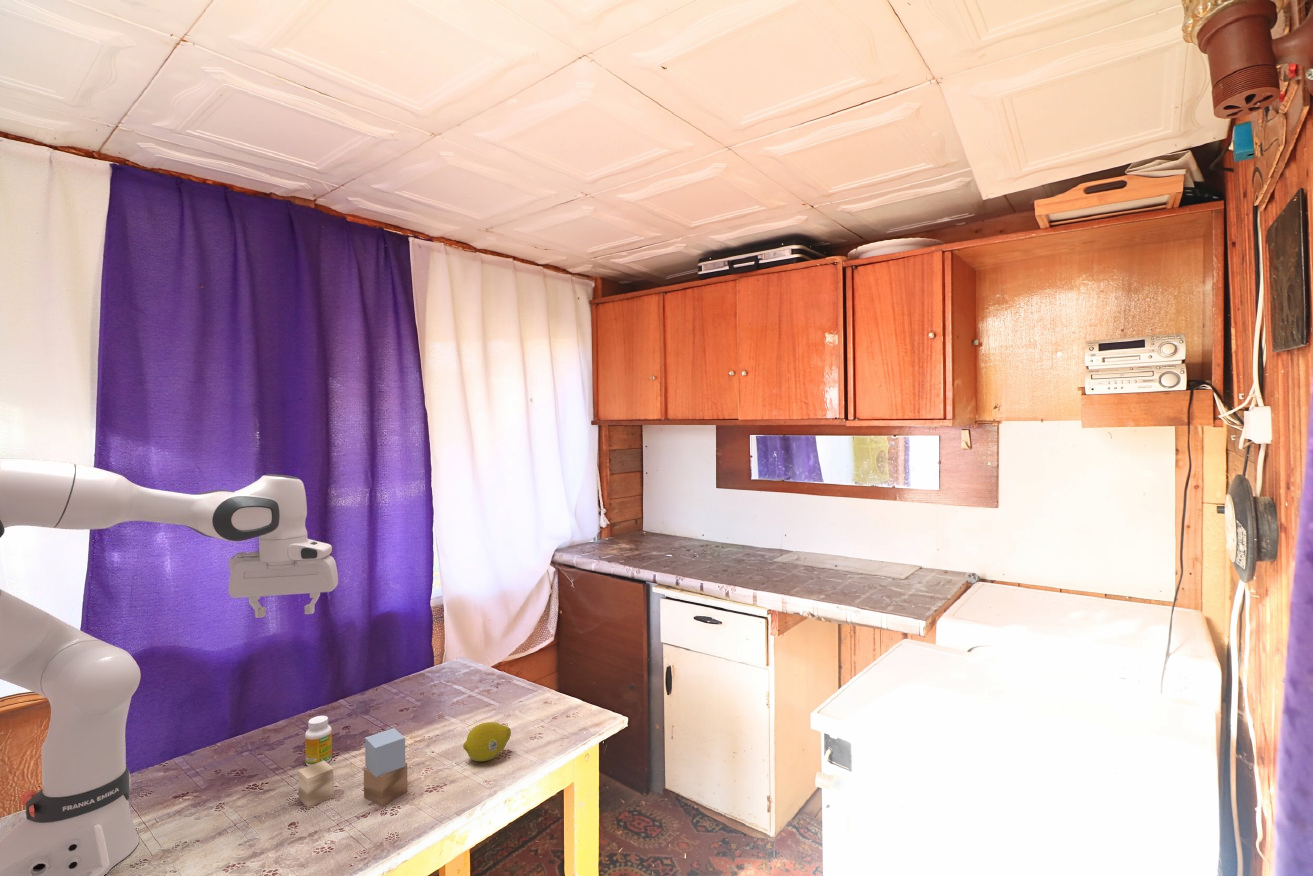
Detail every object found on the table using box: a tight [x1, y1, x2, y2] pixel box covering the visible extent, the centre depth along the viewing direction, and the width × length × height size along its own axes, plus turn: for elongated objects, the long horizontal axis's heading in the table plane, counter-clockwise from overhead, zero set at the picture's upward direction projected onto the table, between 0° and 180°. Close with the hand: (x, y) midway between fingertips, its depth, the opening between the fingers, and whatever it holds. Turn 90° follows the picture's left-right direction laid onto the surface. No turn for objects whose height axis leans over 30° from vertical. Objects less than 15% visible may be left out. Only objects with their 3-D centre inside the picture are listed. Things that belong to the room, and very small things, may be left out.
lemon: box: [462, 721, 512, 763], centre depth 144 cm, size 11×8×8 cm
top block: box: [364, 727, 407, 777], centre depth 130 cm, size 6×6×6 cm
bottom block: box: [363, 762, 409, 807], centre depth 130 cm, size 6×6×6 cm
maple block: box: [297, 761, 335, 809], centre depth 129 cm, size 5×5×6 cm
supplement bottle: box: [304, 715, 333, 767], centre depth 143 cm, size 5×5×10 cm
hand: (285, 615), depth 132 cm, fingers open, 8 cm apart
